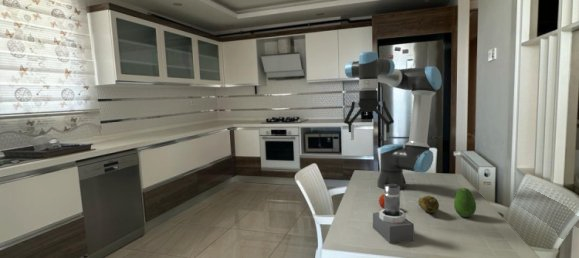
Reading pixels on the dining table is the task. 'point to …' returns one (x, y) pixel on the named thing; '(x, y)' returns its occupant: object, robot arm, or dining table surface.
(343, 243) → the dining table surface
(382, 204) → the fruit
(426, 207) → the potato
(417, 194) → the dining table surface
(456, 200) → the fruit
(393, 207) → the lens
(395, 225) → the grey block
